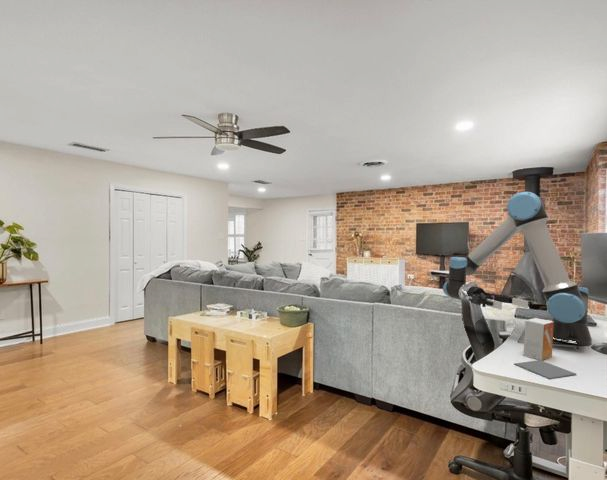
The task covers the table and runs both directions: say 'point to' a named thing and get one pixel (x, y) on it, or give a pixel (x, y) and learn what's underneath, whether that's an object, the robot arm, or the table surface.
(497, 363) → the table surface
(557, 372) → the slate mat
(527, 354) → the small box
